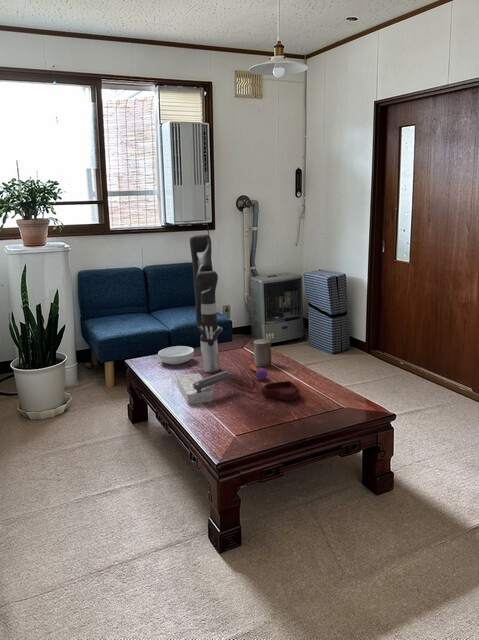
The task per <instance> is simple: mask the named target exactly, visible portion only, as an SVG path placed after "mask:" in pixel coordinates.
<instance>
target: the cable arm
mask: <svg viewBox="0 0 479 640" xmlns="http://www.w3.org/2000/svg"><path fill="white" fill-rule="evenodd" d="M233 377H234V376H233V373H231V372H229V371H228V370H225V371H221V372H219V373H216V374H213V375H210V376H208V377H205V378H203V379H201V380H199V381H198V382H195V383H193V388H194V389H203V388H205V387H208V386H209V387H211V386H213V385H216V384H218V383H222V382H225V381H227V380H230V379H232V378H233Z"/></svg>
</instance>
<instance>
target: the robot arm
mask: <svg viewBox="0 0 479 640" xmlns="http://www.w3.org/2000/svg"><path fill="white" fill-rule="evenodd" d="M189 246H190V247H189V249H190V254H191V262H192V273H193V274H192V275H193V278H192V279H193V289H194V298H195V322H196V326H197V331H198V332H199V333H200V336H199V339H200V340H199V341H200V356H201V358H200V359H201V370H202V372H205V373H214V372H217V371H220V369H221V367H220V354H219V351H218V336H219V335H220V333H221V332H222V331H223V329H224V328H223V327H222V326H219V323H218V311H217V308H218V307H217V303H216V290H217V285H218V280H219V275H218V273H217V271H215V270H213V269H214V268H213V263H212V255H213V254H212V253H213V251H212V239H211V236H210V235H209V234H205V233H203V234H194V235H190V237H189ZM198 253H202V254H201V255H199V256H198Z"/></svg>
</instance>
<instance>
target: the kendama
mask: <svg viewBox="0 0 479 640" xmlns="http://www.w3.org/2000/svg"><path fill="white" fill-rule="evenodd" d="M249 370H251V371H253V372H255V377H256V378H257V380H259V381H264V380H266V379H267V378H268V371H267V370H266V369H264V368H259V369H258V368H257V366H256V365H255V363H254V364H253V363H252V364H250V365H249Z"/></svg>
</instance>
